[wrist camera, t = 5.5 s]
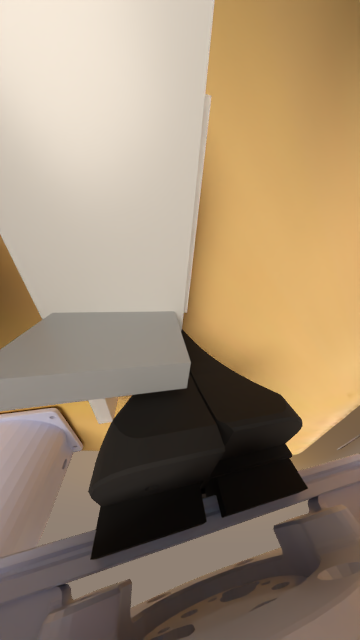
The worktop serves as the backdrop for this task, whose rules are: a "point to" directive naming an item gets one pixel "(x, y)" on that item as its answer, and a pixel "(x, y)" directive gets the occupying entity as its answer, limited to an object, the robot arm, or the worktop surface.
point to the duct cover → (100, 191)
